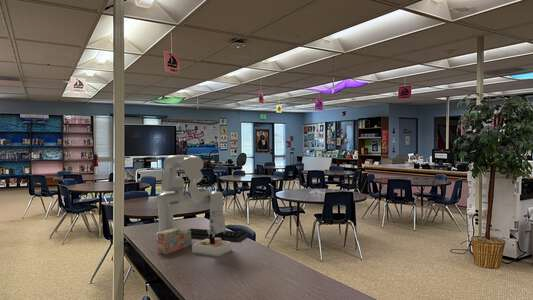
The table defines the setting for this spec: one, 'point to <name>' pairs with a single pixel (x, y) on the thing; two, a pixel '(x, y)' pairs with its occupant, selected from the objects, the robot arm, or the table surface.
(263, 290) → the table surface
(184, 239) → the stack of blocks
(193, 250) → the tote
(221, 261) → the table surface
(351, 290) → the table surface
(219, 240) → the smooth tan pebble
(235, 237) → the computer keyboard
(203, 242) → the cube
